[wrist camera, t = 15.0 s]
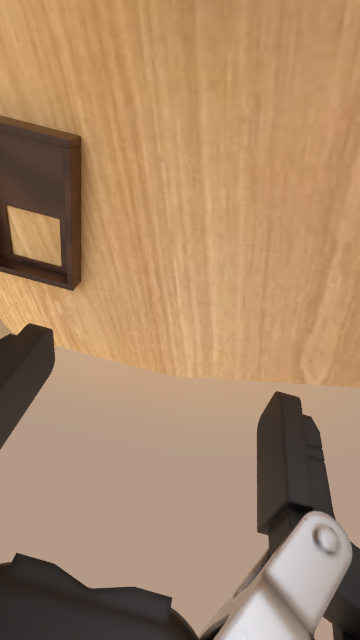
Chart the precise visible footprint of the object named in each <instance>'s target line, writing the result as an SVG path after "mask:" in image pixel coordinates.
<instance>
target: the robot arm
mask: <svg viewBox="0 0 360 640" xmlns="http://www.w3.org/2000/svg"><path fill="white" fill-rule="evenodd" d="M54 362H55V353H54V339H53V331H52V329H49V328H46V327H42V326H38V325H35V324H31V323H30V324H28V325H26V326H25V327H24V328H23V330H22V331H21V332H20V333H19V334H18V335H13V334H9V335H7V336H5V337H3V338H2V339H0V449H1V448H2V446H3V444H4V443H5V442H6V440H7V439H8V437H9V436H10V434H11V433H12V431H13V430H14V428H15V427H16V425H17V424H18V422H19V421H20V419H21V418H22V416H23V415H24V413H25V412H26V410H27V409H28V407H29V406H30V404H31V403H32V401H33V400H34V398H35V396H36V395H37V394H38V392H39V390H40V389H41V388H42V386H43V384H44V383H45V381H46V380H47V378H48V377H49V375H50V373H51V372H52V369H53V366H54ZM257 532H258V533H262V534H265V535H269V548H268V549H267V550H266V551H265V553H264V554H263V555H262V556H261V558H260V559H259V560H258V562H257V563H256V564H255V566H254V567H253V568H252V570H251V571H250V572H249V573H248V575H247V576H246V577H245V579H244V580H243V582H242V583H241V584H240V585H239V587H238V588H237V589H236V590H235V592H234V593H233V595H232V596H231V597H230V598H229V599H228V601H227V602H226V603H225V604H224V605H223V606H222V607H221V608H220V610H219V611H218V612H217V613H216V614H215V616H214V617H213V618H212V619H211V620H210V622H209V623H208V624H207V626H206V627H205V628H204V630H203V631H202V632H201V633H200V635H199V636H197V635H196V633H195V632H194V630H193V629H192V627H191V626H190V625H189V624H188V622H187V621H186V620H185V619H184V618H183V617H182V616H181V615H180V614H179V613H178V612H177V611H175V610H174V609H172V608H171V602H172V598H171V597H168V596H165V595H161V594H158V593H154V592H151V591H147V590H144V589H140V588H137V587H118V588H117V587H116V588H96V589H92V588H88V587H86V586H85V585H83V584H82V583H81V582H79V581H78V580H76V579H75V578H73V577H72V576H71V575H69V574H68V573H67V572H65V571H64V570H62V569H61V568H60V567H58V566H57V565H55V564H53V563H50V562H46V561H43V560H40V559H36V558H33V557H29V556H26V555H22V554H19V553H16V555H15V557H14V559H13V561H12V562H7V563H2V564H0V640H315V639H314V632H315V630H316V628H317V626H318V624H319V621H320V620H321V618H322V616H323V617H324V618H325V619H327V620H328V621H330V622H331V623H332V626H333V636H334V640H360V549H359V548H358V547H356V546H355V545H354V544H353V543H352V542H351V541H350V540H349V538H348V536H347V534H346V532H345V530H344V529H343V528H342V526H341V525H340V524H339V523H338V522H337V521H336V519H335V516H334V512H333V507H332V502H331V496H330V490H329V484H328V478H327V473H326V467H325V463H324V455H323V450H322V444H321V438H320V432H319V430H318V428H317V426H316V425H315V423H314V421H313V419H312V418H311V417H310V416H306V415H303V414H302V408H301V401H300V398H299V397H296V396H293V395H289V394H285V393H282V392H275V393H274V395H273V397H272V398H271V400H270V402H269V403H268V405H267V407H266V408H265V410H264V412H263V413H262V415H261V417H260V420H259V423H258V428H257Z"/></svg>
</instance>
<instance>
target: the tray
mask: <svg viewBox="0 0 360 640" xmlns="http://www.w3.org/2000/svg"><path fill="white" fill-rule="evenodd" d="M80 144H81V137H80V136H77V135H73V134H69V133H66V132H62V131H58V130H54V129H50V128H46V127H42V126H38V125H35V124H31V123H27V122H23V121H19V120H15V119H11V118H7V117H4V116H0V271H1V272H5V273H8V274H12V275H16V276H19V277H23V278H27V279H31V280H34V281H38V282H42V283H46V284H49V285H53V286H57V287H60V288H64V289H68V290H72V291H73V290H74V289H75V288H76V286H77V285H78V284H79V283H80V282H81V145H80ZM6 205H9V206H13V207H16V208H20V209H24V210H28V211H31V212H35V213H39V214H43V215H47V216H50V217H54V218H58V219H60V237H61V260H62V267H59V266H55V265H52V264H48V263H44V262H41V261H37V260H33V259H29V258H26V257H22V256H18V255H14V254H13V250H12V243H11V236H10V229H9V222H8V216H7V209H6Z"/></svg>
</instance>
